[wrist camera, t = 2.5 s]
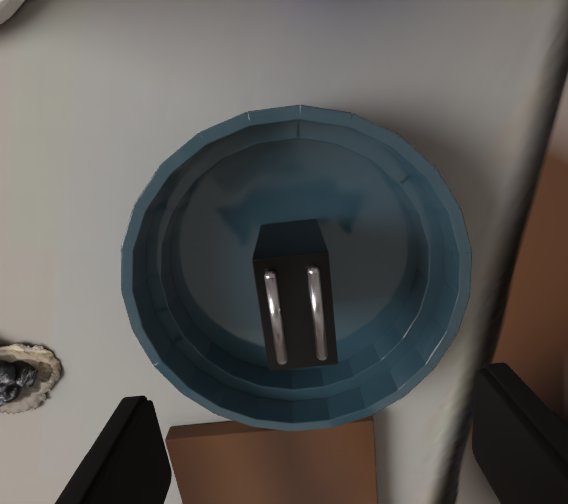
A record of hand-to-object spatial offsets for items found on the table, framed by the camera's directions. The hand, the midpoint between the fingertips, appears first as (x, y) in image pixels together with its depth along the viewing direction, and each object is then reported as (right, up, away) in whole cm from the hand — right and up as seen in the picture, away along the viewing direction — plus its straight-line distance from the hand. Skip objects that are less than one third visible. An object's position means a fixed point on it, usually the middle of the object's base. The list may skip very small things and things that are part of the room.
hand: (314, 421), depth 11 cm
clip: (0, +4, +11) cm, 12 cm away
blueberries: (-20, -3, +14) cm, 24 cm away
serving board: (-1, -15, +18) cm, 23 cm away
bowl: (0, +4, +11) cm, 12 cm away
